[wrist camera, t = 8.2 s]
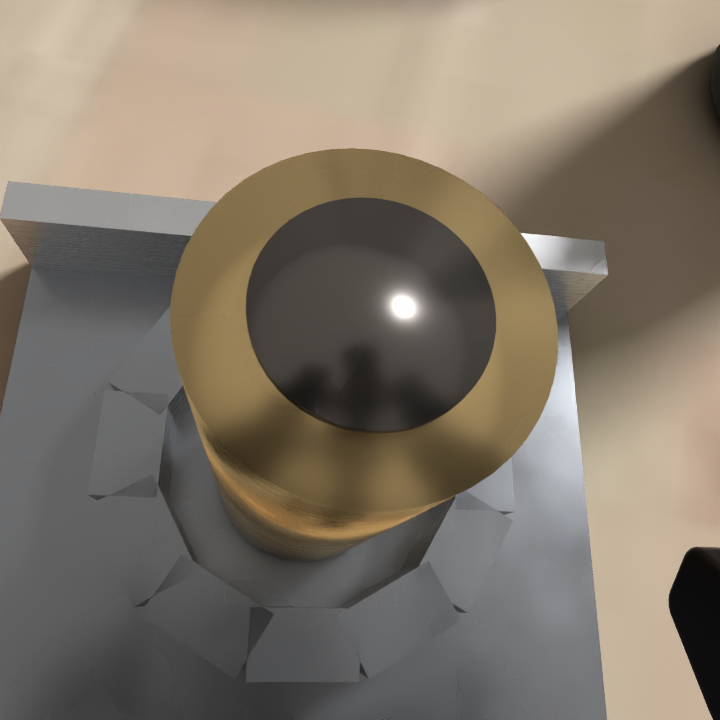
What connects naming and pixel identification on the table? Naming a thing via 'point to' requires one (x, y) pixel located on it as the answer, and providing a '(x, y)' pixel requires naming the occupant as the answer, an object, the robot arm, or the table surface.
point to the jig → (230, 548)
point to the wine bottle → (716, 80)
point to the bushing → (357, 346)
